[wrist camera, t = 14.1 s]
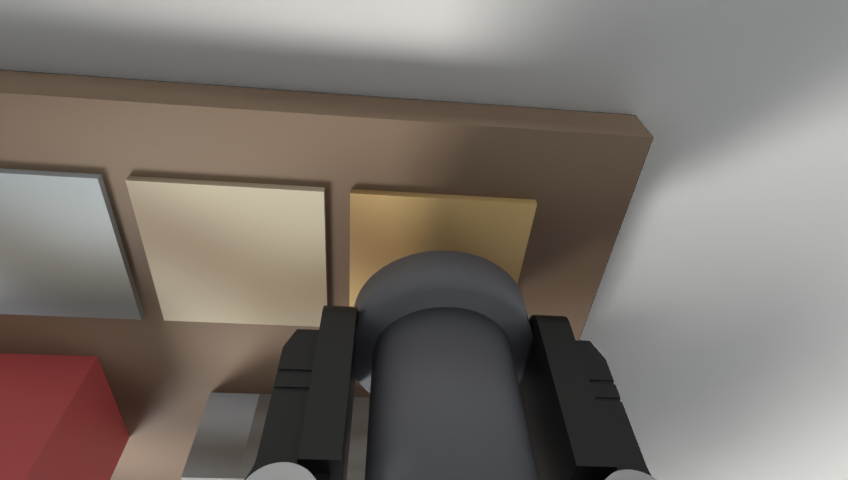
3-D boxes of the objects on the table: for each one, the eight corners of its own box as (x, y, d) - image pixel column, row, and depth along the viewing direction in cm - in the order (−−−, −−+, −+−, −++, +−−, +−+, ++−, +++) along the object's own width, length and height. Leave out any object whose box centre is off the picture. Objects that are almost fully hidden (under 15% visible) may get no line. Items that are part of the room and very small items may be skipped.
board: (-375, 43, 11) (-676, 123, 8) (635, 115, 13) (709, 206, 10) (-9, 517, 23) (-74, 625, 20) (497, 523, 25) (511, 625, 22)
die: (-49, 351, 16) (-184, 505, 12) (97, 356, 16) (8, 508, 12) (4, 434, 18) (-96, 582, 14) (129, 437, 18) (62, 584, 15)
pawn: (354, 245, 11) (292, 746, 5) (541, 255, 12) (698, 739, 5) (352, 371, 14) (308, 818, 7) (508, 376, 14) (591, 811, 8)
